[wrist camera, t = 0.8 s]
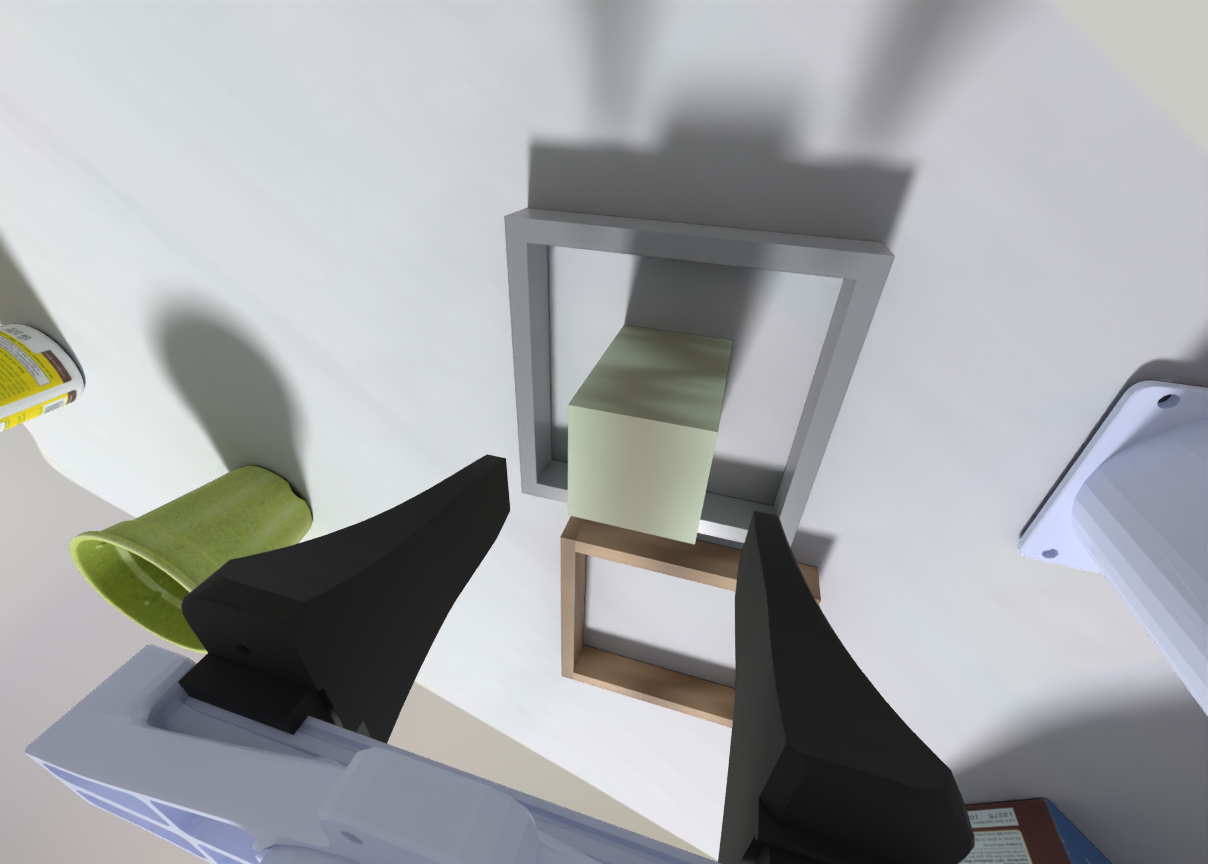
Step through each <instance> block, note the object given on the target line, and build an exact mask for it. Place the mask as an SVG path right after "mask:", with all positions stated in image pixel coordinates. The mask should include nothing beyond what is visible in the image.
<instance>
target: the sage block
mask: <svg viewBox="0 0 1208 864" xmlns="http://www.w3.org/2000/svg"><path fill="white" fill-rule="evenodd" d="M732 341H733V340H727V339H720V338H713V337H706V336H699V335H692V334H685V333H678V332H671V331H664V330H657V329H650V328H644V327H637V326H630V325H624V326H623V327H622V329H621V330H620V332H619V333H618V334H617V336H616V337H615V339H614V340H613V342H612V343H611V344H610V346H609V347H608V349H607V350H606V352H605V353H604V354H603V356H602V357H601V359H600V360H599V362H598V363H597V364H596V366H595V367H594V369H593V370H592V372H591V373H590V374H589V376H588V377H587V379H586V380H585V382H584V383H583V384H582V386H581V387H580V389H579V390H578V391H577V393H576V394H575V396H574V397H573V399H572V400H571V401H570V403H569V404H568V515H570V516H574V517H578V518H583V519H587V520H591V521H596V522H600V523H604V524H608V525H613V526H617V527H621V528H626V529H630V530H634V531H639V532H643V533H647V534H652V535H656V536H660V537H665V538H669V539H673V540H678V541H682V542H686V543H691V544H695V542H696V537H697V532H698V527H699V522H700V517H701V512H702V508H703V503H704V498H705V493H706V488H707V483H708V478H709V473H710V469H711V464H712V459H713V454H714V449H715V444H716V439H717V434H718V429H719V422H720V416H721V410H722V404H723V398H724V391H725V385H726V379H727V373H728V366H729V360H730V354H731V348H732Z"/></svg>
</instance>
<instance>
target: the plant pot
mask: <svg viewBox="0 0 1208 864" xmlns="http://www.w3.org/2000/svg"><path fill="white" fill-rule="evenodd" d="M311 524H312V517H311V513H310V509H309V507H308V505H307V504H306V502H305V501H304V500H303V499H300V498H298V497H297V496H296V495H295V494H294V493H293V492H292V490H291V488H290V485H289V483H288V482H287V481H285V480H284V479H283V478H281V477H280V476H278V475H276V474H275V473H273V472H271V471H268V470H266V469H263V468H260V467H256V466H244V467H241V468H238V469H235V470H233V471H231V472H229V473H227V474H225V475H223V476H221V477H219V478H217V479H215V480H213V481H211V482H209V483H208V484H206V485H204V486H202V487H200V488H198V489H195V490H193V491H191V492H189V493H187V494H185V495H183V496H181V497H179V498H177V499H175V500H173V501H171V502H169V503H167V504H165V505H163V506H161V507H159V508H157V509H155V510H153V511H151V512H149V513H147V514H145V515H142V516H140V517H138V518H136V519H134V520H132V521H124V522H120V523H118V524H116V525H114V526H111V527H109V528H107V529H105V530H102V531H100V532H99V531H88V532H84V533H81V534H79V535H78V536H76V537H74V538H73V539H72V540H71V542H70V547H69V550H70V555H71V557H72V560H73V562H74V563H75V565H76V567H77V568H78V570H79V572H80V573H81V574H82V575H83V577H84V578H85V579H86V580H87V582H88V583H89V584H90V585H91V586H92V587H93V588H94V589H95V590H96V591H97V592H98V593H99V594H100V595H101V596H102V597H103V598H104V599H105V600H106V601H107V602H109V603H110V604H111V605H112V606H114V607H115V608H116V609H117V610H118V611H120V612H121V613H122V614H124V615H125V616H126V617H128V618H129V619H130V620H132V621H134V622H135V623H137V624H139V625H140V626H141V627H143V628H144V629H146V630H147V631H149V632H151V633H152V634H154V635H156V636H158V637H160V638H161V639H163V640H165V641H168V642H170V643H172V644H174V645H177V646H179V647H181V648H185V649H189V650H191V651H194V652H199V653H208V652H207V651H206V649H205V648H204V646H203V645H202V643H201V642H200V640H199V639H198V637H197V636H196V635H195V633H194V632H193V630H192V629H191V627H190V626H189V624H188V623H187V621H186V619H185V617H184V616H183V613H182V608H181V605H182V601H183V598H184V597H185V596H186V595H187V594H189V593H190V592H191V591H192V590H193V589H195V588H196V587H197V586H198V585H200V584H201V583H202V582H203V581H204V580H206V579H207V578H208V577H209V576H211V575H212V574H213V573H214V572H215V571H217V570H218V569H219V568H220V567H221V566H223V565H224V564H225V563H226V562H228V561H229V560H231V559H236V558H241V557H245V556H250V555H254V554H259V553H263V552H268V551H272V550H276V549H280V548H284V547H287V546H291V545H295V544H298V543H299V542H300V540H301V539H302V538H303V537H304V535H305V534H306V533H307V532H308V530H309V529H310V527H311Z"/></svg>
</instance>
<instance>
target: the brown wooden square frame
mask: <svg viewBox="0 0 1208 864" xmlns="http://www.w3.org/2000/svg"><path fill="white" fill-rule="evenodd" d="M741 553H742V550H738V549H734V548H729V547H725V546H721V545H716V544H712V543H708V542H703V541H699V540H696V542H695V544H691V543H686V542H682V541H678V540H673V539H669V538H665V537H660V536H656V535H652V534H647V533H643V532H639V531H634V530H630V529H626V528H621V527H617V526H613V525H608V524H604V523H600V522H596V521H591V520H587V519H583V518H578V517H574V516H571V517H570V519H569V521H568V523H567V525H566V527H565V529H564V531H563V533H562V535H561V655H562V676H563V677H567V678H570V679H573V680H576V681H580V682H583V683H586V684H590V685H593V686H596V687H600V688H603V689H606V690H609V691H613V692H616V693H619V694H623V695H626V696H629V697H632V698H636V699H639V700H642V701H646V702H649V703H652V704H655V705H659V706H662V707H665V708H669V709H672V710H675V711H678V712H682V713H685V714H688V715H692V716H695V717H698V718H701V719H705V720H708V721H711V722H715V723H718V724H721V725H724V726H728V727H731V728H732V724H733V713H734V701H735V689H733V688H730V687H726V686H723V685H719V684H716V683H713V682H709V681H706V680H702V679H699V678H695V677H692V676H688V675H685V674H681V673H678V672H674V671H671V670H667V669H664V668H660V667H657V666H653V665H650V664H647V663H643V662H640V661H636V660H633V659H629V658H626V657H622V656H619V655H615V654H612V653H608V652H605V651H601V650H598V649H594V648H591V647H587V646H584V645H583V632H584V602H585V572H586V555H590V556H594V557H598V558H602V559H606V560H610V561H614V562H618V563H623V564H627V565H631V566H635V567H639V568H643V569H647V570H651V571H655V572H659V573H663V574H667V575H671V576H675V577H679V578H683V579H687V580H691V581H695V582H699V583H703V584H707V585H711V586H715V587H720V588H724V589H728V590H732V591H736V583H737V574H738V565H739V560H740V557H741ZM797 564H798V566H799V568H800V570H801V572H802V574H803V576H804V579H805V581H806V583H807V585H808V587H809V589H810V590H811V592H812V594H813V596H814V598H815V600H816V602H817V603H818V605H819V603H820V601H821V597H820V588H819V579H818V569H817V567H812V566H808V565H803V564H799V563H797Z"/></svg>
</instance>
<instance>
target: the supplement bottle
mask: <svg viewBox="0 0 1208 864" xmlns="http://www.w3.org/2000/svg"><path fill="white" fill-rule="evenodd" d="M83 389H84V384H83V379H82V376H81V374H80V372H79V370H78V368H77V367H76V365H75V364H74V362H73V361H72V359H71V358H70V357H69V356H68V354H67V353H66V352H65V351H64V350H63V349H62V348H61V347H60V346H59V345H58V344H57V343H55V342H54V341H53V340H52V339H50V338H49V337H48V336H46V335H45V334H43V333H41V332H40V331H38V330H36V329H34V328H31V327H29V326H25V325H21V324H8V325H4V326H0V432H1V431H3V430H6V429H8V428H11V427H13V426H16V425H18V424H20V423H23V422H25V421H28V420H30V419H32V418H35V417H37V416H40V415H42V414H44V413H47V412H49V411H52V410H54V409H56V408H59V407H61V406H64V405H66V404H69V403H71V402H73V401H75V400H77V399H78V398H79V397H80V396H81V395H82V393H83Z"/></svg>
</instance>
